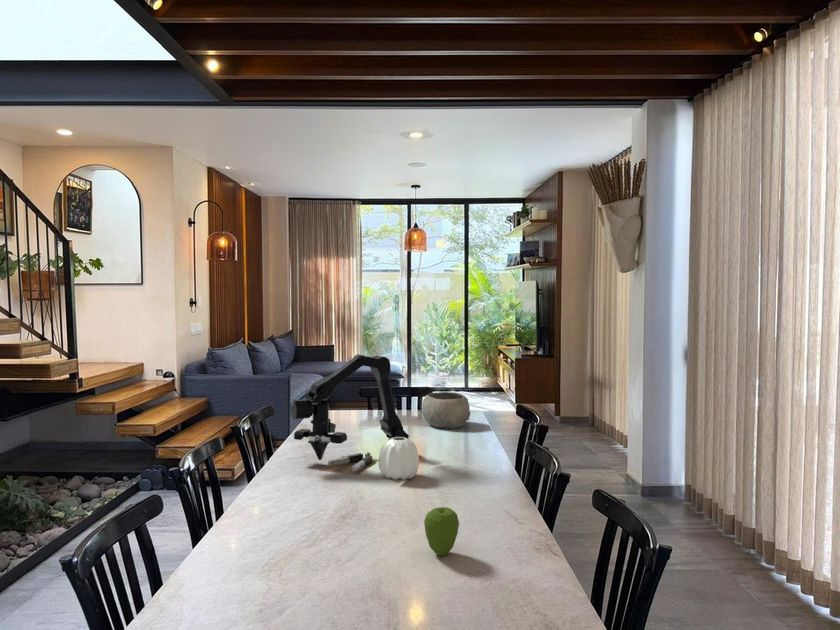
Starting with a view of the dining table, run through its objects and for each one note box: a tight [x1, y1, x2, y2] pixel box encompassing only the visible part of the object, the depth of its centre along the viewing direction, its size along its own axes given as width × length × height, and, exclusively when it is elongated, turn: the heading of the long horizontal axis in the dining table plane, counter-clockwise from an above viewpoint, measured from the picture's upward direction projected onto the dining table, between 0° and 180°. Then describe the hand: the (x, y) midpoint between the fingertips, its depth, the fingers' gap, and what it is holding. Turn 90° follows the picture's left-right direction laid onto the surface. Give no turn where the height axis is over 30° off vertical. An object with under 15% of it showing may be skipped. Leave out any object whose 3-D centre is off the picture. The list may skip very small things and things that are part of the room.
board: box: [318, 455, 379, 476], centre depth 216 cm, size 15×20×1 cm
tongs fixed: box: [352, 451, 373, 473], centre depth 216 cm, size 4×18×3 cm, turn 163°
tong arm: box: [327, 452, 364, 467], centre depth 218 cm, size 2×14×2 cm, turn 132°
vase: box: [378, 437, 420, 481], centre depth 205 cm, size 14×14×13 cm
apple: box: [423, 506, 460, 557], centre depth 144 cm, size 9×8×12 cm
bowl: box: [421, 391, 471, 430], centre depth 286 cm, size 23×23×15 cm
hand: (320, 459), depth 216 cm, fingers closed
